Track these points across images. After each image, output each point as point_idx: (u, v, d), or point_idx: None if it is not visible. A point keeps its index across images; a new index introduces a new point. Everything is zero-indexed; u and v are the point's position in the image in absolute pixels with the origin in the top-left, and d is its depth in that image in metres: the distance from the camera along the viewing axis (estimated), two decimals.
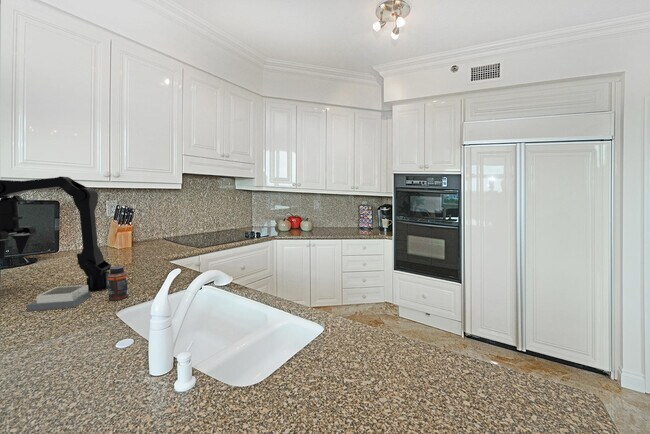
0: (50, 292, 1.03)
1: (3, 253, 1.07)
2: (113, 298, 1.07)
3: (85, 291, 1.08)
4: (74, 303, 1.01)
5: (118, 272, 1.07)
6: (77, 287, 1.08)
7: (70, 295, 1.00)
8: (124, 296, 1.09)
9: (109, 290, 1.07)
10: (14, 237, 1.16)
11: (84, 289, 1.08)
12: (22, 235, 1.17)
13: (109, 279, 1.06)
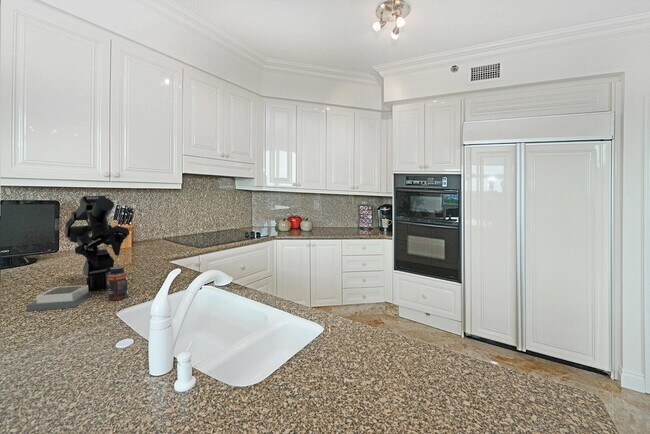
0: (50, 292, 1.03)
1: None
2: (113, 298, 1.07)
3: (85, 291, 1.08)
4: (74, 303, 1.01)
5: (118, 272, 1.07)
6: (77, 287, 1.08)
7: (70, 295, 1.00)
8: (124, 296, 1.09)
9: (109, 290, 1.07)
10: None
11: (84, 289, 1.08)
12: None
13: (109, 279, 1.06)
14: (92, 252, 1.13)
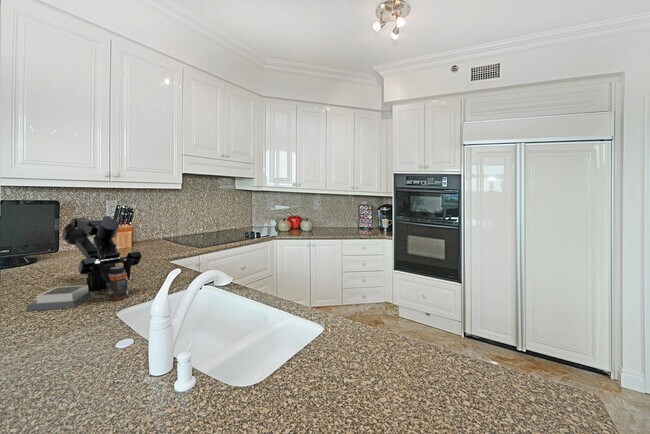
0: (50, 292, 1.03)
1: (105, 277, 1.05)
2: (113, 298, 1.07)
3: (85, 291, 1.08)
4: (74, 303, 1.01)
5: (118, 272, 1.07)
6: (77, 287, 1.08)
7: (70, 295, 1.00)
8: (124, 296, 1.09)
9: (109, 290, 1.07)
10: (123, 267, 1.14)
11: (84, 289, 1.08)
12: (125, 262, 1.14)
13: (109, 279, 1.06)
14: None
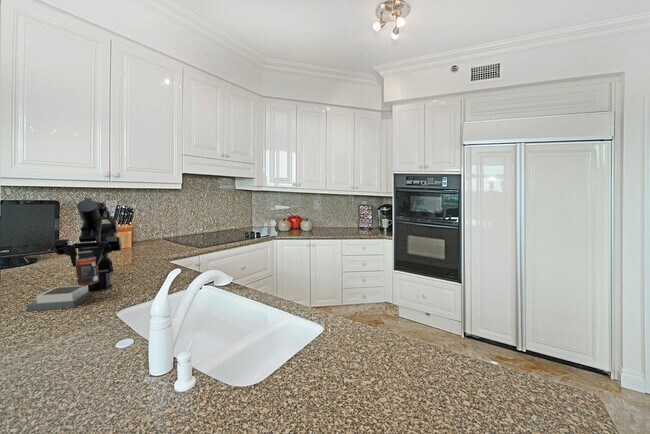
0: (50, 292, 1.03)
1: (71, 260, 1.02)
2: (79, 283, 1.02)
3: (85, 291, 1.08)
4: (74, 303, 1.01)
5: (83, 257, 1.02)
6: (77, 287, 1.08)
7: (70, 295, 1.00)
8: (89, 283, 1.03)
9: None
10: None
11: (84, 289, 1.08)
12: None
13: (75, 263, 1.02)
14: (75, 251, 1.05)
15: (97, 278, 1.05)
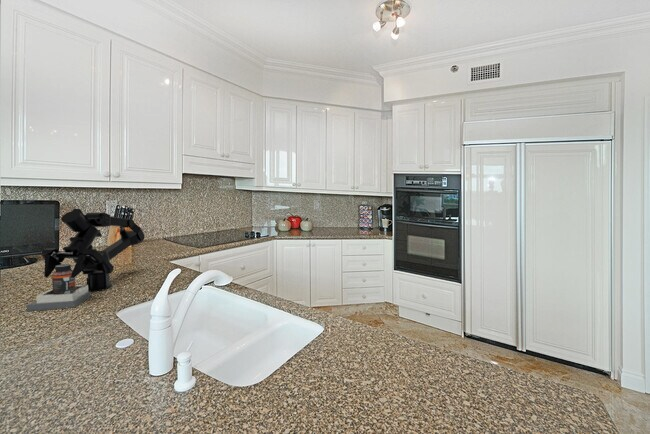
0: (50, 292, 1.03)
1: None
2: None
3: (85, 291, 1.08)
4: (74, 303, 1.01)
5: (57, 271, 1.02)
6: (77, 287, 1.08)
7: (70, 295, 1.00)
8: None
9: None
10: None
11: (84, 289, 1.08)
12: None
13: None
14: (55, 261, 1.06)
15: None
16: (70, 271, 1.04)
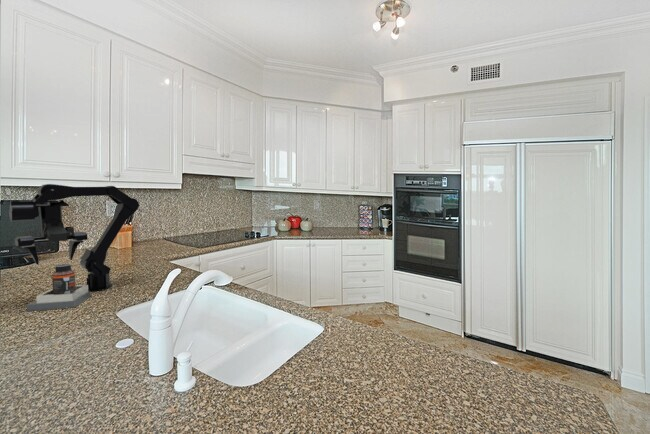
0: (50, 292, 1.03)
1: None
2: None
3: (85, 291, 1.08)
4: (74, 303, 1.01)
5: (57, 271, 1.02)
6: (77, 287, 1.08)
7: (70, 295, 1.00)
8: None
9: None
10: (35, 247, 1.03)
11: (84, 289, 1.08)
12: None
13: None
14: (71, 243, 1.13)
15: None
16: (70, 271, 1.04)
